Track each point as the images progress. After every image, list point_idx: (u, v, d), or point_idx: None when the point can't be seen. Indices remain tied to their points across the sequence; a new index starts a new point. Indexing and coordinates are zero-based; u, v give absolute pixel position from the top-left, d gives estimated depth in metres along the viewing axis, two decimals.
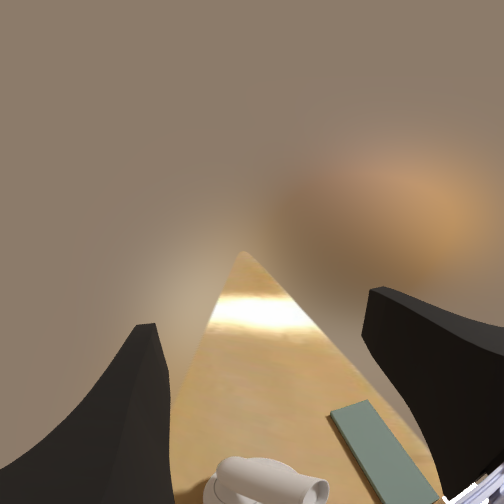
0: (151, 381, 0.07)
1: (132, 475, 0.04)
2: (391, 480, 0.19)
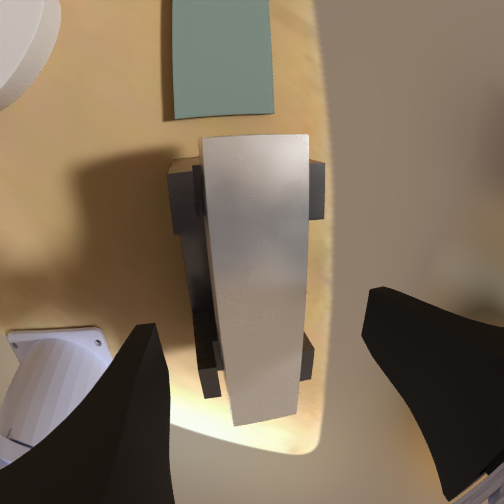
0: (151, 381, 0.07)
1: (132, 475, 0.04)
2: (208, 27, 0.11)
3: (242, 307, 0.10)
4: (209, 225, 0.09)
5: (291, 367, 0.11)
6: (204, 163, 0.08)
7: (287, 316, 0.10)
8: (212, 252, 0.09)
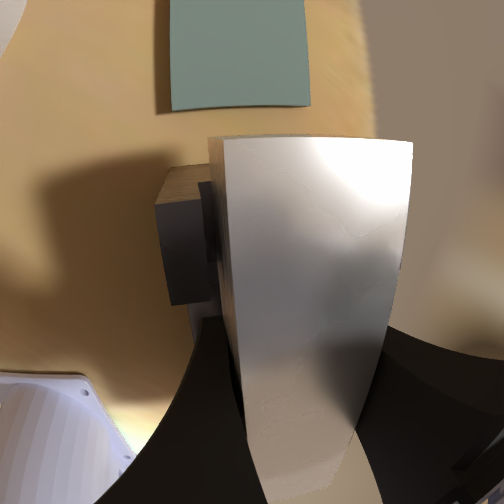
0: (230, 372, 0.07)
1: None
2: None
3: (281, 410, 0.06)
4: (235, 306, 0.05)
5: (333, 453, 0.07)
6: (227, 191, 0.04)
7: (342, 409, 0.06)
8: (240, 348, 0.05)
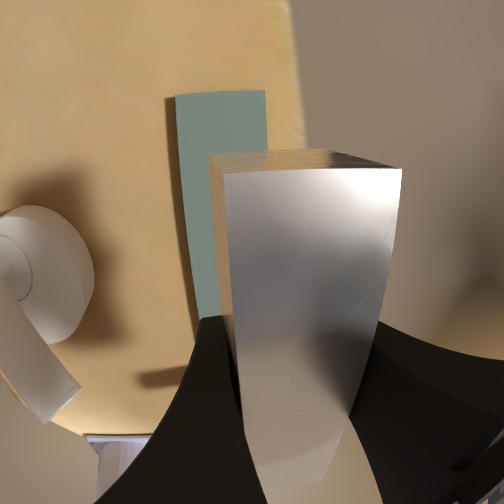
0: (230, 372, 0.07)
1: None
2: None
3: (276, 409, 0.06)
4: (234, 319, 0.05)
5: (325, 449, 0.08)
6: (227, 220, 0.04)
7: (333, 408, 0.07)
8: (238, 355, 0.05)
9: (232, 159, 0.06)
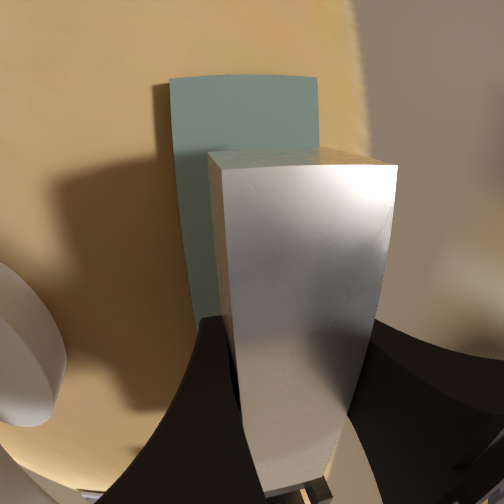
0: (230, 372, 0.07)
1: None
2: None
3: (274, 404, 0.06)
4: (232, 313, 0.05)
5: (324, 445, 0.08)
6: (225, 215, 0.04)
7: (331, 404, 0.07)
8: (237, 349, 0.05)
9: (231, 156, 0.06)
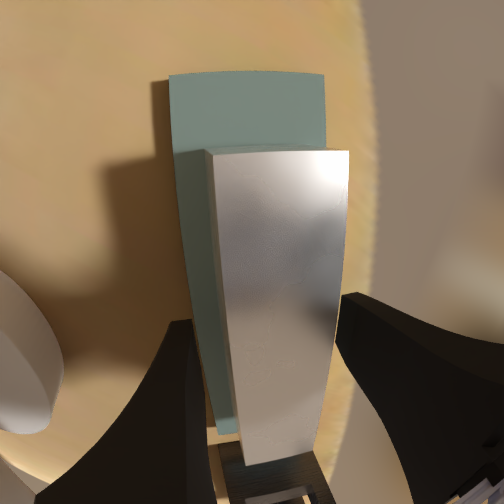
0: (194, 377, 0.07)
1: (196, 472, 0.04)
2: None
3: (260, 357, 0.08)
4: (222, 267, 0.07)
5: (310, 411, 0.10)
6: (215, 188, 0.06)
7: (311, 363, 0.08)
8: (226, 299, 0.07)
9: (222, 150, 0.07)
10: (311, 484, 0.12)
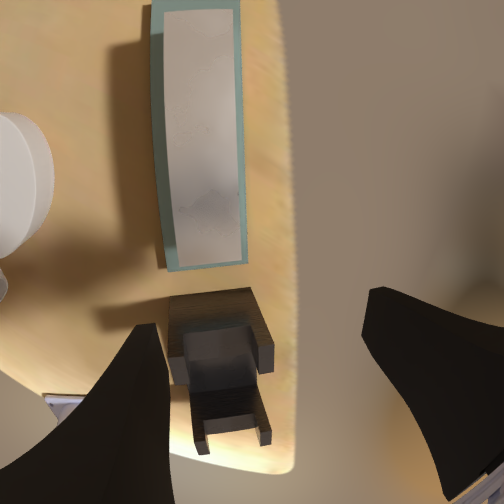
0: (151, 381, 0.07)
1: (132, 475, 0.04)
2: None
3: (184, 120, 0.12)
4: (164, 60, 0.10)
5: (228, 190, 0.13)
6: (164, 25, 0.10)
7: (221, 132, 0.12)
8: (164, 76, 0.11)
9: None
10: (251, 326, 0.16)
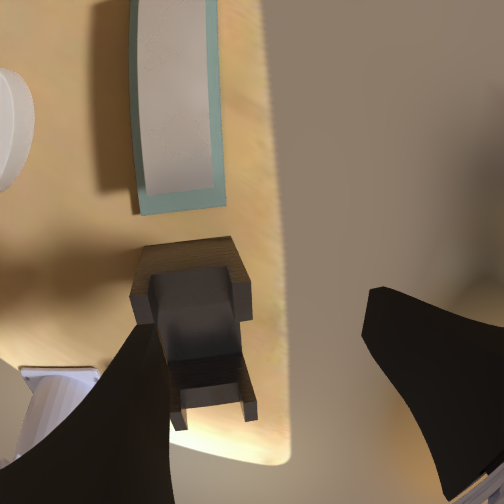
0: (151, 381, 0.07)
1: (132, 475, 0.04)
2: None
3: (155, 47, 0.10)
4: None
5: (198, 112, 0.12)
6: None
7: (192, 57, 0.11)
8: (138, 12, 0.09)
9: None
10: (226, 267, 0.14)
